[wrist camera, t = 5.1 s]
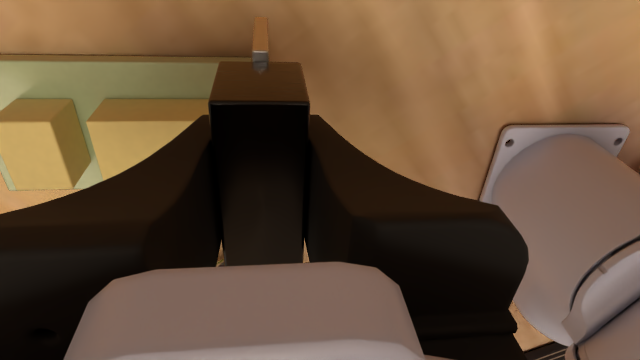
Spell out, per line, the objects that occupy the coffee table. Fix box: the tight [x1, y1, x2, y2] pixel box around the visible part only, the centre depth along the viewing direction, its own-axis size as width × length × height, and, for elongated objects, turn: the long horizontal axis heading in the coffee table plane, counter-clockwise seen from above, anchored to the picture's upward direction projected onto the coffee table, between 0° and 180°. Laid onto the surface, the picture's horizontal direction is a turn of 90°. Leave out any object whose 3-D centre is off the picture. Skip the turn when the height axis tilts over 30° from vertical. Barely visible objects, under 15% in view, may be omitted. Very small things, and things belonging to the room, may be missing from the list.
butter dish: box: [0, 54, 252, 191], centre depth 21 cm, size 7×13×1 cm, turn 87°
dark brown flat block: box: [208, 17, 310, 266], centre depth 12 cm, size 6×2×6 cm, turn 177°
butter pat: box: [0, 99, 91, 190], centre depth 19 cm, size 4×2×2 cm
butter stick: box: [86, 99, 209, 181], centre depth 20 cm, size 4×6×2 cm, turn 87°
